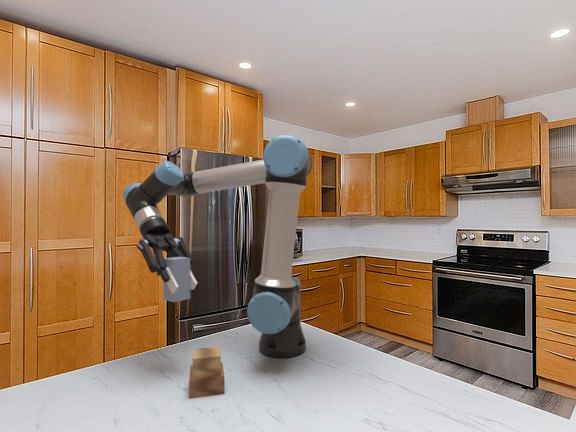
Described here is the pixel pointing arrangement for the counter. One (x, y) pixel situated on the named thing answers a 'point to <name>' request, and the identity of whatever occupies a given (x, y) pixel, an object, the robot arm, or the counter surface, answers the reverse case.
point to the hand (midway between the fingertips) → (185, 288)
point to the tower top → (206, 362)
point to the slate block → (178, 279)
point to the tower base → (206, 385)
